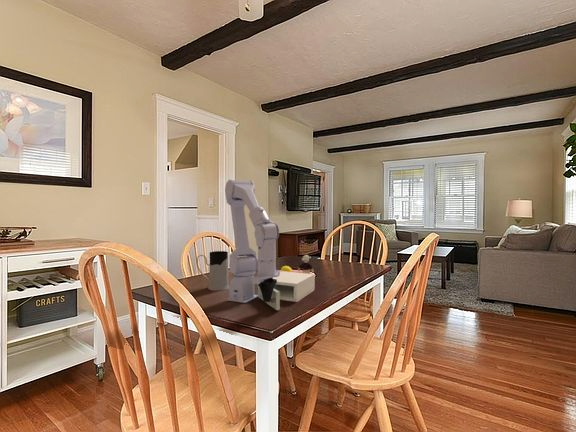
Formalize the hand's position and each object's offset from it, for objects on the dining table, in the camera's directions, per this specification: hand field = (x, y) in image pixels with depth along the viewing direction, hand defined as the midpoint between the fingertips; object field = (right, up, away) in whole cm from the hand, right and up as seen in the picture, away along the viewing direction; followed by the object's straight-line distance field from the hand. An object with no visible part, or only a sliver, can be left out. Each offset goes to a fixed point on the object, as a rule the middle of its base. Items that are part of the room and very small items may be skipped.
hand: (267, 301), depth 104 cm
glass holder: (-25, -3, +31) cm, 39 cm away
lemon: (+6, -2, +51) cm, 52 cm away
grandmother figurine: (+15, -2, +37) cm, 40 cm away
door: (-1, -2, +7) cm, 7 cm away
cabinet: (+7, -2, +21) cm, 22 cm away
